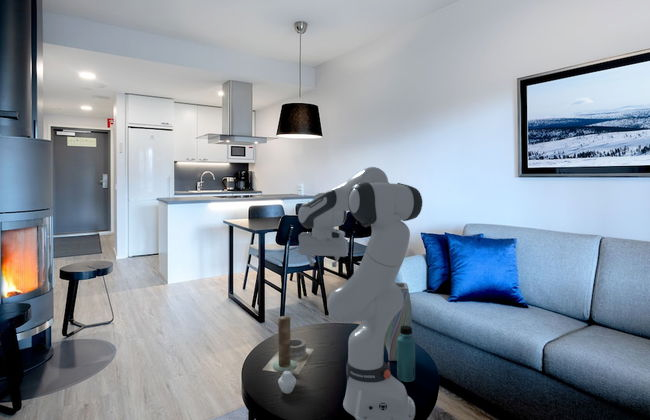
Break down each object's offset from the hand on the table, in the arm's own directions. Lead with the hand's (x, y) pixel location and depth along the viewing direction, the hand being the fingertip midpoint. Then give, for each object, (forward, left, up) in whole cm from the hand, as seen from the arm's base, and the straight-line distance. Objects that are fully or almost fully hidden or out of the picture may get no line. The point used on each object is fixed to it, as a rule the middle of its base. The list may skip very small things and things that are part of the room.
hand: (323, 266), depth 154 cm
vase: (-29, -4, -37) cm, 47 cm away
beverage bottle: (-34, +14, -37) cm, 52 cm away
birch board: (+11, +10, -37) cm, 40 cm away
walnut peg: (+11, +16, -35) cm, 40 cm away
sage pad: (+11, +16, -35) cm, 40 cm away
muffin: (+5, +30, -37) cm, 48 cm away
